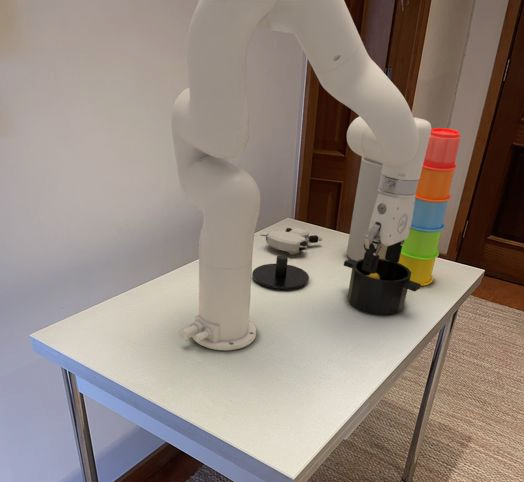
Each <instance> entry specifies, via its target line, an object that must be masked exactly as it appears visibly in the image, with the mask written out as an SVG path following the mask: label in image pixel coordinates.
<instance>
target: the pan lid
mask: <svg viewBox="0 0 524 482" xmlns="http://www.w3.org/2000/svg"><path fill="white" fill-rule="evenodd" d="M288 260H289V257H288V256H287V255H285V254H277V256H276V260H275V261H276V262H275V263H267V264H262V265H259V266H257V267H255V268H254V269H253V270H252V274H251V277H252V279H253V280H254V281H255V282H257V283H258V284H260V285H262V286H264V287H268V288H271V289H278V290H292V289H298V288H301V287H303V286H306V284H308V283H309V280H310V275H309V274H308V272H307V271H305V269H302V268H300V267H297V266H295V265H291V264H288Z"/></svg>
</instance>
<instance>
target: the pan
mask: <svg viewBox="0 0 524 482" xmlns="http://www.w3.org/2000/svg"><path fill="white" fill-rule="evenodd" d="M362 264H363V259H360V260H358V261H355V260H352V259H350V258H348V259H346V260H344V261H343V266H344V267H347V268H350V269H351V274H350V279H349V286H348V292H347V302H348V304H349V305H350V306H351V307H352V308H354V309H356V310H357V311H359V312H362V313H365V314H368V315H374V316H381V317H382V316H383V317H385V316H393V315H397V314H399V313H401V312H403V309H404V308H405V307H404V306H405V302H406V298H407V293H408V290H409V291H411V292H414V293H415V292H417V291H418V290H420V289H421V287H422V286H421V284H419V283H416V282H413V281H411V280H410V277H411V272H410V270H409V269H408V268H407V267H405V266H404V265H402V264H400V263H394V262H391V261H389V260H386V259H380V258H379V261H378V266H377V270H376V273H377V274H378V275H379V277H380V279H375V278H371V277H369V275H370V274H371V273H369V272H367V271H364V270H362ZM366 275H368V276H366Z"/></svg>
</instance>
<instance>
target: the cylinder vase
mask: <svg viewBox="0 0 524 482" xmlns="http://www.w3.org/2000/svg"><path fill="white" fill-rule="evenodd" d="M382 167H383V164H382V163H379V162H376V161H374V160H370V159H368V158H365V157H362V156H361V161H360V167H359V174H358V180H357V186H356V192H355V198H354V203H353V211H352V217H351V222H350V230H349V236H348V242H347V248H346V255H347V257H348V259H352V260H355V261H358V260H360V259H364V254H365V252H364V236H365V235H366V233H367V232H368V231H369V226H370V221H371V217H372V213H373V209H374V206H375V203H376V199H377V196H378V193H379V191H378V187H379V182H380V177H381V172H382ZM378 240H381V239H378ZM373 244H374V246H375V249H376V247H377V245H378V244H375V243H373ZM386 251H387V246H385V245H384V244H383V246H382V248H381V250H380V252H379V253H378V255H379V256H380V257H379V258H380V259H385V255H386Z"/></svg>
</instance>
